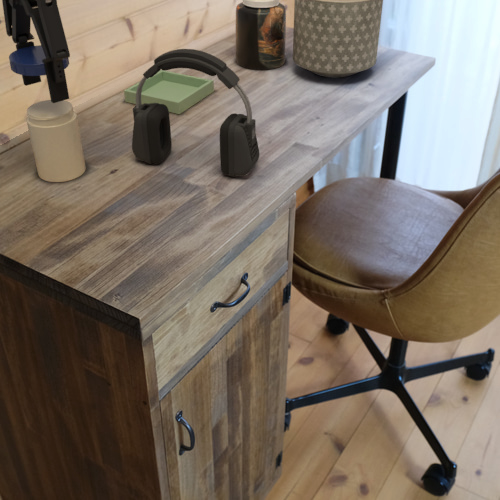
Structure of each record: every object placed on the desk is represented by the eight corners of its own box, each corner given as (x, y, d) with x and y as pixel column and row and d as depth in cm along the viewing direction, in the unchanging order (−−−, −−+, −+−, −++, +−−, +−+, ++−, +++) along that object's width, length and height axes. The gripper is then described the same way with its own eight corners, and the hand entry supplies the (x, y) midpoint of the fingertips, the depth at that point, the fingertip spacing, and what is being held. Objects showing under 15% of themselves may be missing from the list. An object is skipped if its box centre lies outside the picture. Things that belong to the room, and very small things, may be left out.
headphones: (130, 163, 114) (116, 50, 102) (145, 147, 119) (134, 38, 107) (250, 182, 108) (250, 65, 96) (261, 164, 113) (262, 51, 101)
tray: (125, 101, 136) (123, 90, 134) (162, 80, 145) (161, 69, 144) (179, 114, 130) (178, 102, 129) (214, 91, 140) (213, 80, 139)
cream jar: (28, 175, 110) (13, 112, 103) (60, 156, 116) (48, 95, 109) (64, 186, 107) (51, 122, 100) (95, 166, 113) (85, 104, 106)
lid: (79, 67, 100) (77, 55, 99) (26, 80, 96) (24, 68, 95) (52, 52, 106) (50, 41, 105) (1, 64, 101) (-1, 53, 100)
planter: (309, 53, 160) (313, -25, 149) (384, 64, 153) (394, -17, 143) (279, 79, 146) (281, -5, 135) (360, 92, 139) (369, 5, 129)
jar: (230, 68, 152) (229, 1, 143) (242, 51, 161) (241, -12, 152) (280, 71, 149) (281, 4, 141) (288, 55, 159) (290, -9, 150)
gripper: (-41, -72, 94) (-5, 78, 108) (26, -48, 81) (57, 119, 95) (8, -78, 98) (36, 67, 112) (79, -55, 85) (101, 105, 99)
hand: (46, 91), depth 103 cm, fingers closed on lid, 9 cm apart
